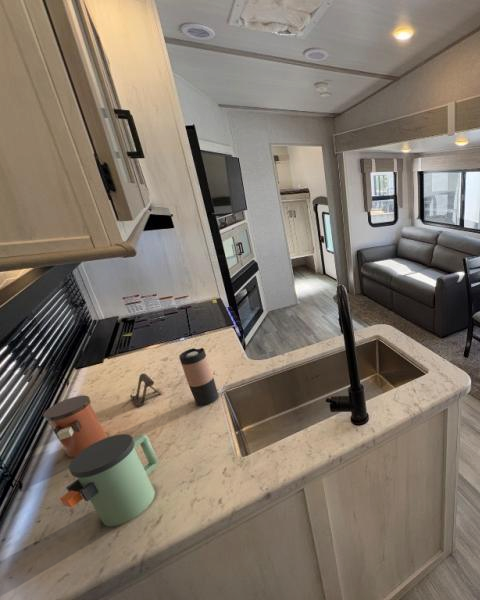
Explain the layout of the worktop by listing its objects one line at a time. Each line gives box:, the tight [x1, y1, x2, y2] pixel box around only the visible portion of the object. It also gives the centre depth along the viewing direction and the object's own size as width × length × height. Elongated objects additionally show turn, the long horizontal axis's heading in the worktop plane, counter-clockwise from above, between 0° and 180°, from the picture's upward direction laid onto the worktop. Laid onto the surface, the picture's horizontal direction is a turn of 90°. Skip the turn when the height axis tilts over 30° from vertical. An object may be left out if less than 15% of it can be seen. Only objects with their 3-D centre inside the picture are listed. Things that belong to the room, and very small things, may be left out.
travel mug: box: [178, 347, 219, 407], centre depth 110 cm, size 8×8×20 cm
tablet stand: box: [129, 373, 162, 408], centre depth 115 cm, size 9×8×8 cm
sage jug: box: [65, 433, 159, 527], centre depth 73 cm, size 16×11×17 cm
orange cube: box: [59, 490, 84, 508], centre depth 64 cm, size 2×2×2 cm
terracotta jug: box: [42, 395, 108, 458], centre depth 93 cm, size 14×10×15 cm
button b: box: [56, 427, 74, 440], centre depth 86 cm, size 2×2×2 cm
